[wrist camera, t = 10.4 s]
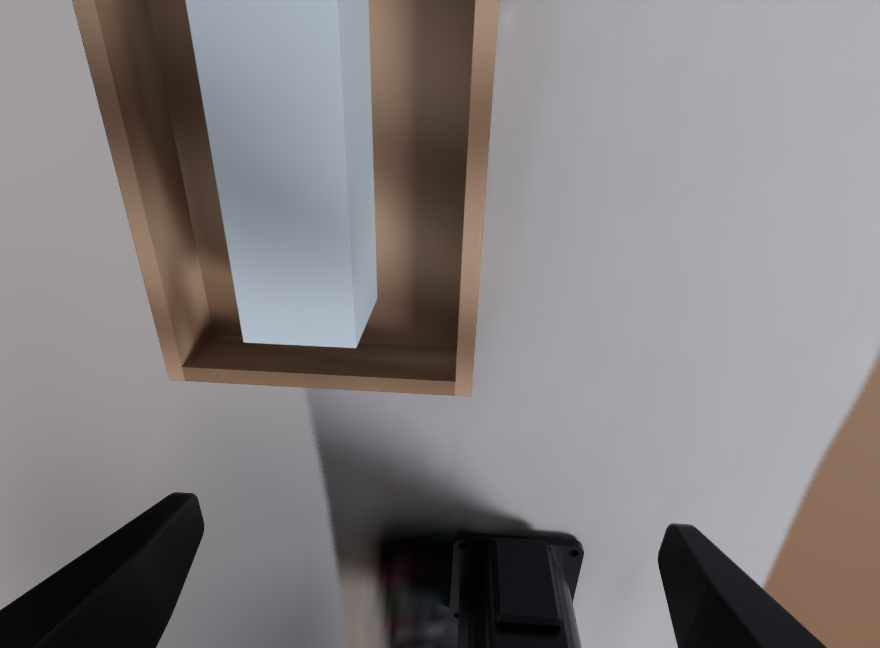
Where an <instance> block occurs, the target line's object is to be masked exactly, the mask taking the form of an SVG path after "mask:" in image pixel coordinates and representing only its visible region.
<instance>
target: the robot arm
mask: <svg viewBox="0 0 880 648" xmlns="http://www.w3.org/2000/svg"><path fill="white" fill-rule="evenodd" d="M203 532H204V521H203V517H202V513H201V509H200V505H199V501H198V498H197V496H196V495H195V494H192V493H179V492H176V493H172V494H170V495H168V496H167V497H165V498H164V499H163V500H161V501H160V502H158V503H157V504H155V505H154V506H152V507H151V508H149V509H148V510H146V511H145V512H143V513H142V514H141V515H139V516H138V517H136V518H135V519H133V520H132V521H130V522H129V523H128V524H126V525H124V526H123V527H122V528H120V529H119V530H117V531H116V532H114V533H113V534H111V535H110V536H108V537H107V538H105V539H104V540H103V541H101V542H100V543H98V544H97V545H95V546H94V547H92V548H91V549H89V550H88V551H86V552H85V553H83V554H82V555H81V556H79V557H78V558H76V559H75V560H73V561H72V562H70V563H69V564H67V565H66V566H64V567H63V568H61V569H60V570H59V571H57V572H56V573H54V574H53V575H51V576H50V577H49V578H47V579H45V580H44V581H42V582H41V583H39V584H38V585H37V586H35V587H34V588H32V589H31V590H29V591H28V592H26V593H25V594H23V595H22V596H21V597H19V598H18V599H16V600H15V601H13V602H12V603H10V604H9V605H7V606H6V607H4V608H3V609H1V610H0V648H156V646H157V644H158V642H159V640H160V638H161V636H162V634H163V632H164V630H165V628H166V626H167V624H168V622H169V620H170V617H171V615H172V613H173V611H174V608H175V606H176V603H177V601H178V598H179V596H180V593H181V590H182V588H183V585H184V583H185V579H186V578H187V575H188V572H189V570H190V567H191V565H192V562H193V560H194V557H195V554H196V552H197V549H198V547H199V544H200V541H201V539H202V536H203ZM583 556H584V551H583V547H582V544H581V543H580V542H579V541H577V540H568V539H553V538H537V537H521V536H506V535H490V534H475V533H459V534H457V535H456V536H455V537H454V544H453V560H452V577H451V593H450V611H449V615H450V618H451V619H453V620H455V621H458V648H581V644H580V639H579V634H578V629H577V624H576V619H575V614H574V609H573V604H572V603H573V598H574V594H575V590H576V586H577V581H578V577H579V573H580V569H581V564H582V560H583ZM658 565H659V569H660V574H661V578H662V582H663V586H664V591H665V595H666V599H667V603H668V607H669V612H670V616H671V620H672V624H673V628H674V633H675V637H676V641H677V645H678V648H827V647H826V646H825V645H824V644H823V643H821V642H820V641H819V640H818V639H817V638H816V637H815V636H814V635H813V634H812V633H811V632H809V631H808V630H807V629H806V628H805V627H804V626H803V625H802V624H801V623H799V622H798V621H797V620H796V619H795V618H794V617H793V616H792V615H791V614H790V613H789V612H788V611H786V610H785V609H784V608H783V607H782V606H781V605H780V604H779V603H778V602H777V601H776V600H774V599H773V598H772V597H771V596H770V595H769V594H768V593H767V592H766V591H765V590H764V589H762V588H761V587H760V586H759V585H758V584H757V583H756V582H755V581H754V580H753V579H752V578H750V577H749V576H748V575H747V574H746V573H745V572H744V571H743V570H742V569H741V568H739V567H738V566H737V565H736V564H735V563H734V562H733V561H732V560H731V559H730V558H729V557H727V556H726V555H725V554H724V553H723V552H722V551H721V550H720V549H719V548H718V547H717V546H715V545H714V544H713V543H712V542H711V541H710V540H709V539H708V538H707V537H706V536H705V535H703V534H702V533H701V532H700V531H699V530H698V529H697V528H696V527H694V526H692V525H689V524H674V523H673V524H670V525H669V526H668V527H667V529H666V532H665V535H664V538H663V541H662V544H661V547H660V550H659V553H658Z"/></svg>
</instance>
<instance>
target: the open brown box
mask: <svg viewBox="0 0 880 648" xmlns="http://www.w3.org/2000/svg"><path fill="white" fill-rule="evenodd" d="M72 2H73V6H74V10H75V14H76V17H77V21H78V25H79V29H80V33H81V37H82V41H83V45H84V49H85V53H86V57H87V60H88V64H89V68H90V72H91V76H92V80H93V84H94V87H95V92H96V96H97V99H98V103H99V107H100V111H101V115H102V119H103V123H104V127H105V131H106V135H107V139H108V142H109V146H110V150H111V154H112V158H113V162H114V166H115V170H116V174H117V177H118V182H119V186H120V189H121V193H122V197H123V201H124V205H125V209H126V213H127V217H128V221H129V225H130V228H131V232H132V236H133V240H134V244H135V248H136V252H137V255H138V259H139V264H140V268H141V271H142V275H143V279H144V283H145V287H146V291H147V295H148V299H149V303H150V307H151V311H152V314H153V318H154V322H155V326H156V330H157V334H158V338H159V342H160V346H161V350H162V353H163V357H164V361H165V365H166V369H167V373H168V377H169V380H178V381H197V382H214V383H233V384H251V385H269V386H288V387H306V388H324V389H342V390H360V391H379V392H397V393H415V394H433V395H452V396H470V397H471V393H472V378H473V364H474V350H475V336H476V322H477V307H478V293H479V279H480V265H481V251H482V236H483V222H484V208H485V194H486V180H487V166H488V151H489V137H490V123H491V109H492V95H493V80H494V66H495V52H496V38H497V24H498V9H499V0H369V32H370V66H371V99H372V133H373V166H374V200H375V233H376V267H377V300H376V303H375V305H374V307H373V310H372V312H371V315H370V317H369V319H368V322H367V324H366V326H365V329H364V331H363V333H362V336H361V338H360V341H359V343H358V345H357V348H342V347H322V346H303V345H283V344H264V343H244V342H243V336H242V330H241V325H240V319H239V313H238V307H237V301H236V295H235V289H234V283H233V277H232V272H231V266H230V260H229V254H228V248H227V242H226V236H225V230H224V224H223V219H222V213H221V207H220V201H219V195H218V189H217V183H216V177H215V171H214V166H213V160H212V154H211V148H210V142H209V136H208V130H207V124H206V118H205V113H204V107H203V101H202V95H201V89H200V83H199V77H198V71H197V65H196V60H195V54H194V48H193V42H192V36H191V30H190V24H189V18H188V12H187V7H186V1H185V0H72Z"/></svg>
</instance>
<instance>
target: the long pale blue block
mask: <svg viewBox="0 0 880 648" xmlns="http://www.w3.org/2000/svg"><path fill="white" fill-rule="evenodd" d="M185 1H186V7H187V12H188V18H189V24H190V30H191V36H192V42H193V48H194V54H195V60H196V65H197V71H198V77H199V83H200V89H201V95H202V101H203V107H204V113H205V118H206V124H207V130H208V136H209V142H210V148H211V154H212V160H213V166H214V171H215V177H216V183H217V189H218V195H219V201H220V207H221V213H222V219H223V224H224V230H225V236H226V242H227V248H228V254H229V260H230V266H231V272H232V277H233V283H234V289H235V295H236V301H237V307H238V313H239V319H240V325H241V330H242V336H243V342H244V343H264V344H283V345H303V346H322V347H342V348H357V345H358V343H359V341H360V338H361V336H362V333H363V331H364V329H365V326H366V324H367V322H368V319H369V317H370V315H371V312H372V310H373V307H374V305H375V303H376V300H377V267H376V233H375V200H374V166H373V133H372V99H371V66H370V32H369V0H185Z"/></svg>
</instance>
